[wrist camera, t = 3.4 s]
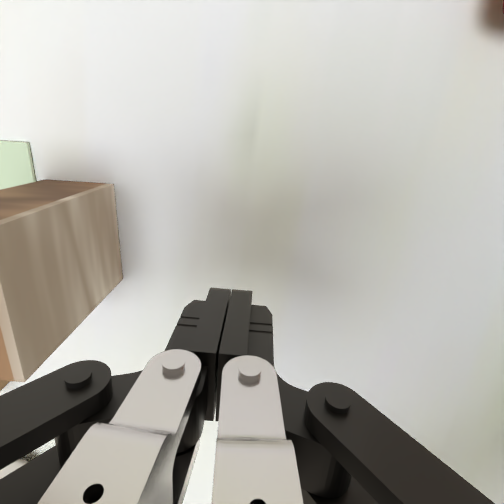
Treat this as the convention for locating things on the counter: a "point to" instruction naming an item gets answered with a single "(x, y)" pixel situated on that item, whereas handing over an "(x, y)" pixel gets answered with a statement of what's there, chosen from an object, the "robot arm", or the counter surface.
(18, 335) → the walnut block
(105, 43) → the counter surface
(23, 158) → the pad
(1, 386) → the oak block
